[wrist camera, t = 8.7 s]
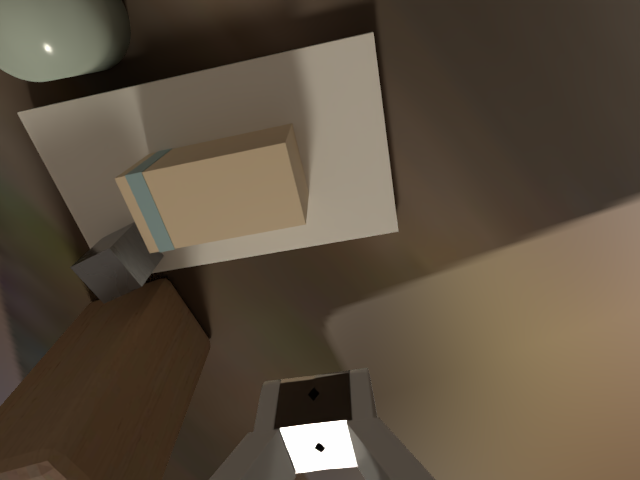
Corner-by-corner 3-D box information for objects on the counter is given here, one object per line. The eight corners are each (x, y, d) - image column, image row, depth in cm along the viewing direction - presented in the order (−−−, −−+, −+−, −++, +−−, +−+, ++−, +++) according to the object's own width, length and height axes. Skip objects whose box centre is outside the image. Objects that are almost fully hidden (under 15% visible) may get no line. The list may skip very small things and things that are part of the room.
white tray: (33, 108, 33) (17, 112, 31) (370, 31, 30) (373, 32, 28) (117, 269, 40) (107, 280, 38) (395, 221, 37) (398, 231, 35)
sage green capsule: (16, -22, 29) (-70, -36, 23) (105, -46, 28) (42, -68, 22) (63, 80, 32) (0, 92, 26) (145, 61, 31) (100, 69, 25)
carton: (292, 122, 31) (149, 153, 32) (285, 142, 26) (113, 177, 27) (309, 194, 34) (176, 219, 35) (306, 225, 29) (149, 254, 30)
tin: (101, 238, 36) (70, 267, 32) (136, 220, 35) (109, 248, 31) (129, 271, 38) (103, 303, 34) (163, 255, 37) (141, 286, 33)
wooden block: (140, 365, 46) (24, 572, 29) (87, 300, 42) (-87, 496, 24) (216, 342, 45) (142, 548, 27) (168, 271, 40) (43, 461, 23)
